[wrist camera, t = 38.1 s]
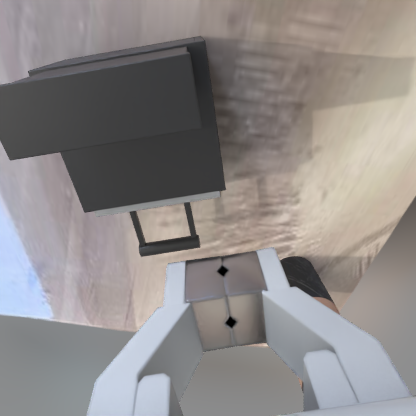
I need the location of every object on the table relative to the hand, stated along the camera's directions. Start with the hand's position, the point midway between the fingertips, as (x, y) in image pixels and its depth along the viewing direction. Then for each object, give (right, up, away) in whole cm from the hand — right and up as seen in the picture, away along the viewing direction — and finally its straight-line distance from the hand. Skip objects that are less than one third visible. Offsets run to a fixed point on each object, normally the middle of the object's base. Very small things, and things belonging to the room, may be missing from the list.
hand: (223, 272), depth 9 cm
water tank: (-8, +12, +18) cm, 23 cm away
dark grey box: (-7, +13, +28) cm, 32 cm away
